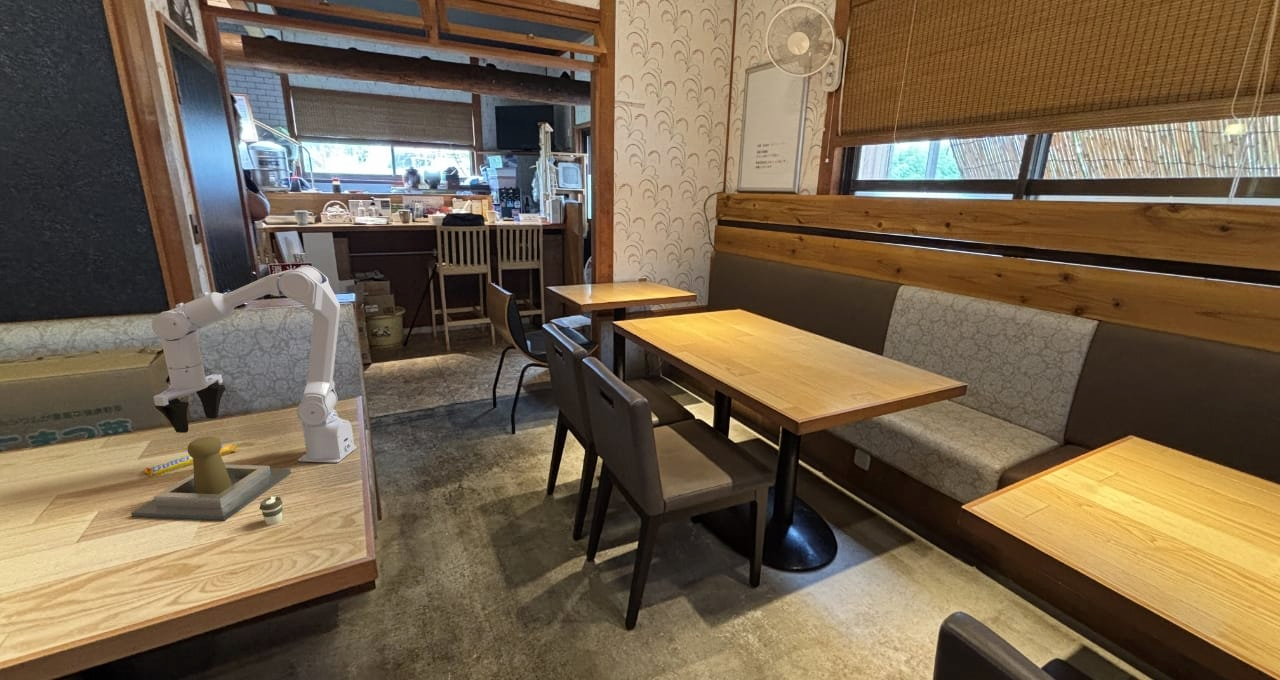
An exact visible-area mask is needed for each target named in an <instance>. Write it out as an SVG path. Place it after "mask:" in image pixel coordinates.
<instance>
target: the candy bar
mask: <svg viewBox="0 0 1280 680" xmlns="http://www.w3.org/2000/svg"><path fill="white" fill-rule="evenodd" d="M237 450H239V447H238V446H237V445H236V444H235V443H234V442H233V443H232V444H231V445H226V446H225V445H224V446H221V450H220V455H221V457H223V456H226V455H230V454H232V453H233V452H236V451H237ZM189 466H193V458H192V457H191V456H190V455H187V456H183V457H180V458H177V459H173V460H171V461H167V462H164V463H161V464H158V465H154V466H152V467H149V466H147V467H146V468H145V469H144V470H142V471H141V472H143V473H145V474H146V475H148V476H149V477H151V476H152V477H155V475H156V476H158V474H159V475H161V473H163V474H166V473H169V472H172V470H173V471H177V470H179V468H180V469H183V468H186V467H189ZM168 471H169V472H168ZM165 472H166V473H165Z"/></svg>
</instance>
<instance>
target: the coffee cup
mask: <svg viewBox="0 0 1280 680" xmlns="http://www.w3.org/2000/svg"><path fill="white" fill-rule="evenodd" d="M259 505H260V506H259V508H258V509H259V510H260V511H261V513H262V516H263V519H264V521H265V525H267V526H273V525H277V524H279V523H280V522H282V521H283V520H282V519H283V500H282V498H281V497H280V496H278V495H276V496H270V497H267V498H264V499H263V500H261V502H260V503H259Z"/></svg>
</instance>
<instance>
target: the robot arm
mask: <svg viewBox="0 0 1280 680" xmlns="http://www.w3.org/2000/svg"><path fill="white" fill-rule="evenodd" d="M266 295H272V296H277V297H281V296H283V295H284V296H285V297H287V298H288V299H290V300H292V301H294V302H296V303H298V304H300V305H303V306H304V307H305V308H306V309H307V310H309V311H310V313H312V314H313V317H312V318H313V319H312V330H311V340H310V350H309V359H308V360H309V361H308V369H307V378H306V379H307V381H306V385H305V387H304V391H303V394H302V400H301V401H300V403H299V404H298V406H297V408H296V416H297V418H298V420H299V421H300V422H301V425H302V432H303V438H304V445H305V450H306V451H305V452H306V453H304V454H303V455H302V456H300V457H299V458H298V460H297V461H298V462H311V463H336V464H337V463H339V462H341V461H342V460H343V459H344V458H345V457H347V456H349V454H351V452H353V451H354V450H356V449H357V447H358V446H357V445H355V440H354V433H353V426H352V423H351V422H350V421H349V420H348V419H343V418H341V417H340V416H339V415H338V412H337V410H335V408H336V405H337V404H338V400H339V398H338V395H337V392H336V389H335V385H336V383H335V381H334V371H335V362H336V361H335V360H336V353H337V352H336V351H337V343H338V342H337V341H338V334H339V325H340V324H339V322H340V315H341V305H340V302H339V299H338V298H337V296H336V294H335V292H334V291H333V289H332V287H331V285H330V281H329V278H328V277H327V275H325V274H324V273H323V272H321V271H320V270H319V269H317V268H316V267H314V266H312V265H300V266H298V267H297V268H294V269H287V270H283V271H280V272H276V273H273V274H269V275H267V276H263V277H262V278H259V279H257V280H255V281H252V282H250V283H249V284H246V285H243V286H241V287H239V288H237V289H234V290H232V291H230V292H227V293H225V294H224V293H221V292H217V291H213V292H208V291H204V292H203V293H200V294H198V298H196V299H193V300H191V301H188V302H185V303H184V302H180V303H177V304H176V305H175V308H173V309H169V310H167V311H162V312H160V313H159V314H157V315H156V316H155V317H153V319H152V320H151V321H152V322H151V329H152V331H153V332H154V334H155V335H156V336H158V337H159V338H160V340H161V345H162V349H163V354H164V359H165V363H166V368H167V372H168V376H169V383H170V384H169V385H168V386H167V387H168V388H167V389H165V390H164V391H162V392H160V394H157V395H154V396H153V402H154V407H155V409H156V410H158V411H159V412H160V413H161V414H162V415H163V416H164V417H165V418H166V419H167V420H168V421H169V423H170V424H171V426H172V427H173V429H174V431H175V433H180V434H181V433H182V434H186V433H188V432H189V421H188V408H189V404H190V402H187V401H182V400H181V398H183V397H186V396H189V395H192V394H195V393H196V395H197V396H198V399H199V400H200V402H201V405H202V409H203V412H204V415H205V417H206V419H218V417H219V410H220V403H221V399H222V397H223V394H224V392H225V391H226V385H225V384H222V383H224V382H223V381H224V380H223V375H222V374H219V373H218V374H217V373H213V374H210V375H207V376H206V374H205V373H206V372H205V368H204V363H203V359H202V354H201V350H200V345H199V344H200V343H199V340H198V335H197V330H201V329H203V328H206V327H208V326H210V325H213V324H215V323H216V324H217V323H218V322H220V321H223V320H224V319H227V318H229V317H232V315H233V312H234V310H235V308H236V307H238V306H242V305H244V304H247V303H249V302H252V301H255V300H256V299H259V298H262V297H265V296H266ZM179 399H180V400H179Z"/></svg>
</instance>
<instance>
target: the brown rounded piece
mask: <svg viewBox="0 0 1280 680" xmlns="http://www.w3.org/2000/svg"><path fill="white" fill-rule="evenodd" d="M221 447H222V442H221V440H220V439H219V438H218V437H216V436H209V435H208V436H203V437H200V438H196V439H194V440H192V441H190V442H189V444H188V445H187V453H188V456H191V457H192V458H193V465H192V466H193V474H194V493H195V494H219V493H221V492H223V491H225V490H226V489H228V488H229V487H231V486H232V483H231V480H230V478H229V475H228V473H227V470H226V468H225V465H224V464H225V462H224V460H223V458H222V457H223V456H221V455H220V450H221Z"/></svg>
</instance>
